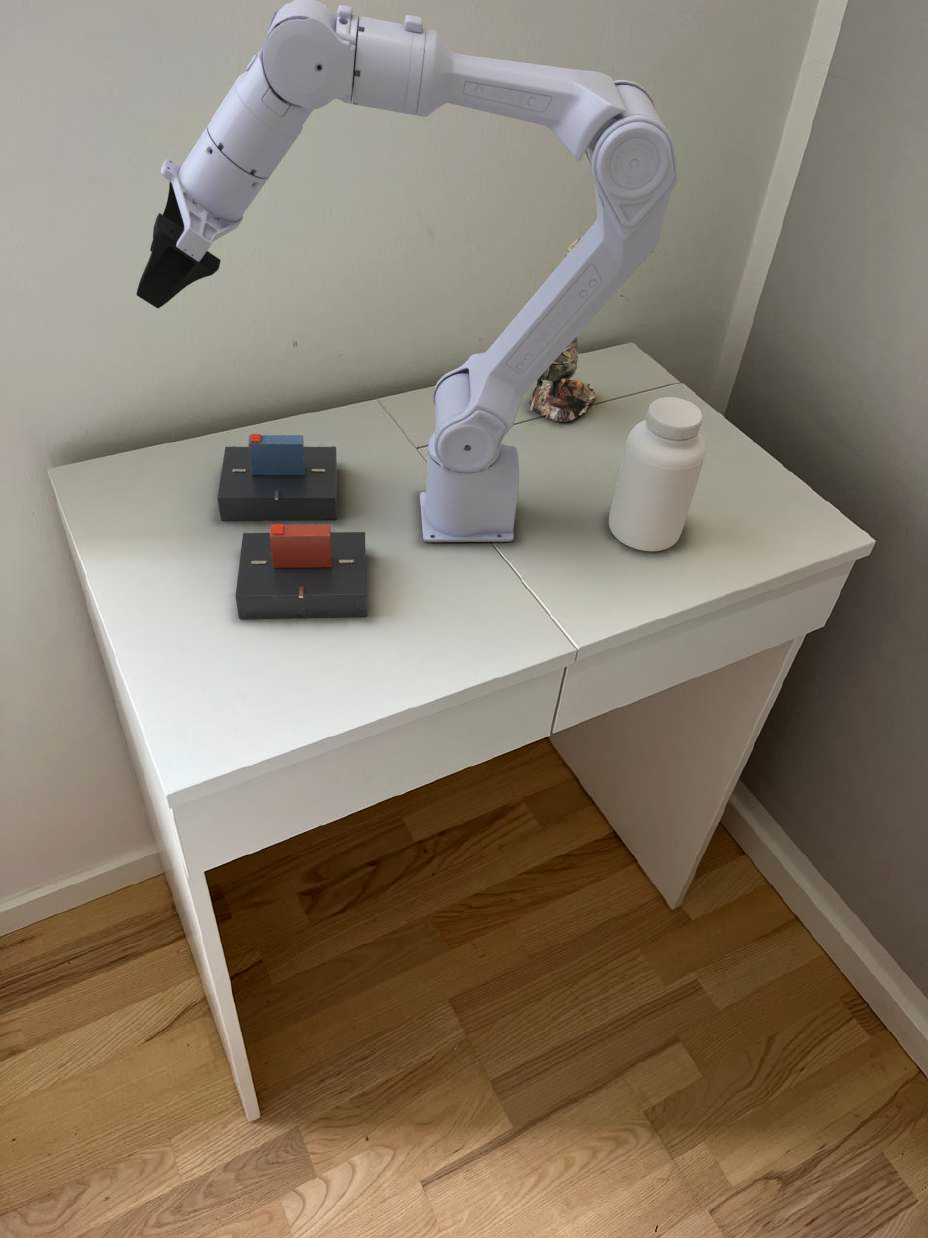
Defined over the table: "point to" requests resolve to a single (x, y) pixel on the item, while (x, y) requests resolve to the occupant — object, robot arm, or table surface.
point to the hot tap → (301, 546)
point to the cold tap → (277, 454)
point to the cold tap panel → (278, 488)
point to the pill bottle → (658, 476)
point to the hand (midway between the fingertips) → (154, 277)
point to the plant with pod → (562, 385)
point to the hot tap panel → (302, 581)
